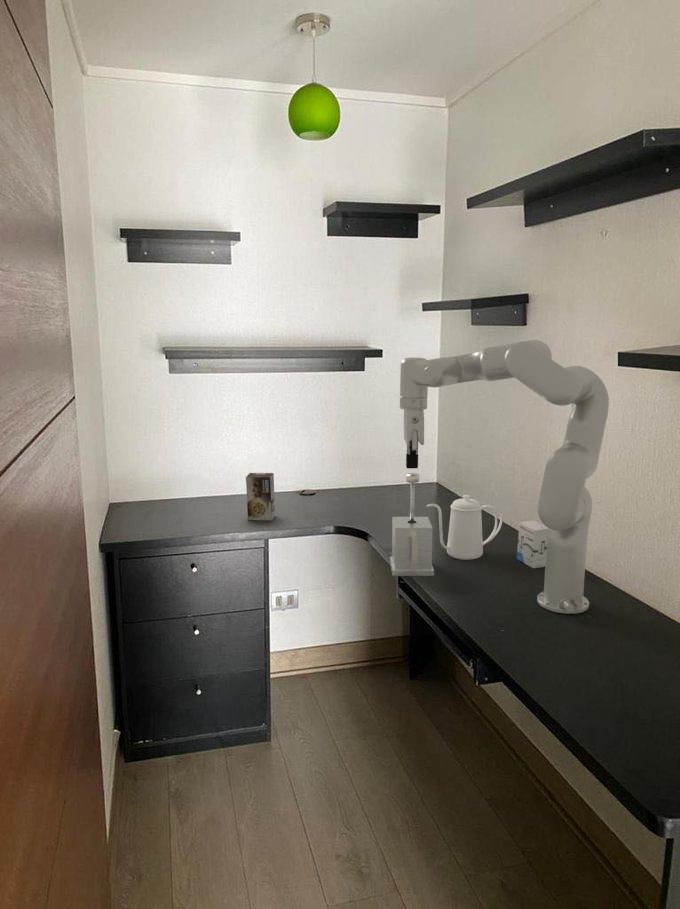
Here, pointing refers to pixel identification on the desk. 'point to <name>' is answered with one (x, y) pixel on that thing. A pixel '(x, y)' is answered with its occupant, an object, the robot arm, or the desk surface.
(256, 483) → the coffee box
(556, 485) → the robot arm
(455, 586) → the desk surface
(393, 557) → the grey cube on plinth
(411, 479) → the plunger
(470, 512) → the coffeepot
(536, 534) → the ink box
